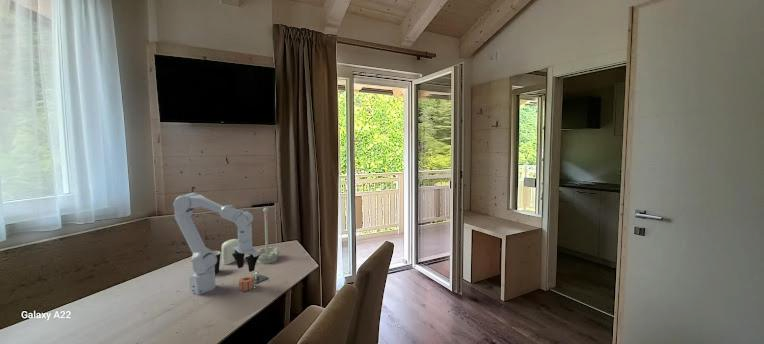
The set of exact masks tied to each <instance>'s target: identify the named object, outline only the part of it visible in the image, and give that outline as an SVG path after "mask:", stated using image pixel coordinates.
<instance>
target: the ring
mask: <svg viewBox="0 0 764 344" xmlns="http://www.w3.org/2000/svg"><path fill="white" fill-rule="evenodd" d="M254 285H255V284H254V276H253V275H252V276H250V275H248V276H242V277H241V278H239V279H238V287H239V289H240V290H242V291H246V290H250V289H252V288H254ZM254 289H255V288H254ZM252 290H253V289H252ZM242 291H241V292H242ZM250 291H251V290H250Z"/></svg>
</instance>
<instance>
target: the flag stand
mask: <svg viewBox="0 0 764 344" xmlns="http://www.w3.org/2000/svg"><path fill="white" fill-rule="evenodd" d="M269 210H270V209H269V208H268V207H264V208H263V209H262V212H263V213H264V239H265V240H264V241H265V242H264V243H265V248H264V247H261V248H258V249H255V250H256V251H258V255H259V258H258V259H257V262H256V263H258V264H262V263H264V264H270V263H271V262H272V263H275V262H276V261H277V260H278V259H279V257H278V256H279V255H280V249H279V247H274V248H273V246H269V225H268V224H269V223H268V221H269V219H268V213H269ZM274 261H275V262H274ZM272 263H271V264H272Z"/></svg>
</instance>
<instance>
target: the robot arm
mask: <svg viewBox="0 0 764 344" xmlns="http://www.w3.org/2000/svg"><path fill="white" fill-rule="evenodd" d="M172 206H173V208H174V219H175V221H176V223H177V225H178V227H179V229H180V231H181V233H182V235H183V237H184V239H185V241H186V243H187V245H188V247H189V250H190V251H191V253H192V256H191V260H190V261H191V263H192V270H193V272H194V274H193V275H190V277H189V293H192V294H193V295H196V296H199V295H201V294H202V295H203V294H205V293H207V292H211V291H213V290H215V288H216V274H215V264H216V263H217V257H216V255H214V254H213V253H212V252H211V251H212V250H211V249H210V248H208V247H206V245H205V242H204V241H203V239H202V237H201V234H200V233H199V231H198V229H197V227H196V225H195V222H194V221H193V218H192V217H191V215H192V214H193V211H194V210H195V209H197V208H203V209H206V210H209V211H212V212H215V213H217V214H219V217H220V218H222V219H225V220H227V221H230V222H232V223H234V224H235V226H236V227H237V239H238V246H236V247H233V251H234V252H235V253H233V254H232V256H233V257H234V258H235V260H236V261H235V262H236V263H235V264H236V266H237V268H238V269H242V268H243V267H244V262H245V261H244V260H245V259H246V262H247V266H248V272H249V273H252V272H254V271H255V268H256V265H257V263H258V262H257V259H258V258H259V255H258V251H259V250H258V251H256V250H257V249H255V247H254V246H253V228H252V222H253V221H254V215H253V214H252V213H251V212H250V211H248V210H245V211H244V210H243V209H241V210H240V209H237V208H235V207H234V205H232V204H229V205H228V204H227V205H224V206H223V205H222V204H219V203H218V202H215V201H213V200H211V199H209V198H207V197H206V196H203V195H202V194H198V193H197V192H190V193H187V194H183V195H178V196H177V197H176V198H175V199H174V201H173V203H172ZM245 255H248V256H245Z"/></svg>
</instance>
